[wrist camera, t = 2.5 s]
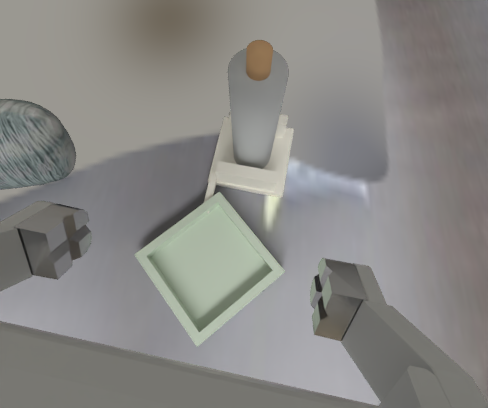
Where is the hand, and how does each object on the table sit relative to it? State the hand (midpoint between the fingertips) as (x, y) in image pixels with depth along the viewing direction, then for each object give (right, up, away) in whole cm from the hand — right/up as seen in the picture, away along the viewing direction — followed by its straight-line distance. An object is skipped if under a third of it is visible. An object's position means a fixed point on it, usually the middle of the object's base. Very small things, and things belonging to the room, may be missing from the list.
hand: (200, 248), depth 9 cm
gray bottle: (+2, +7, +20) cm, 21 cm away
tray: (-2, -4, +17) cm, 18 cm away
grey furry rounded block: (-23, +6, +21) cm, 31 cm away
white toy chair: (+2, +5, +20) cm, 21 cm away
